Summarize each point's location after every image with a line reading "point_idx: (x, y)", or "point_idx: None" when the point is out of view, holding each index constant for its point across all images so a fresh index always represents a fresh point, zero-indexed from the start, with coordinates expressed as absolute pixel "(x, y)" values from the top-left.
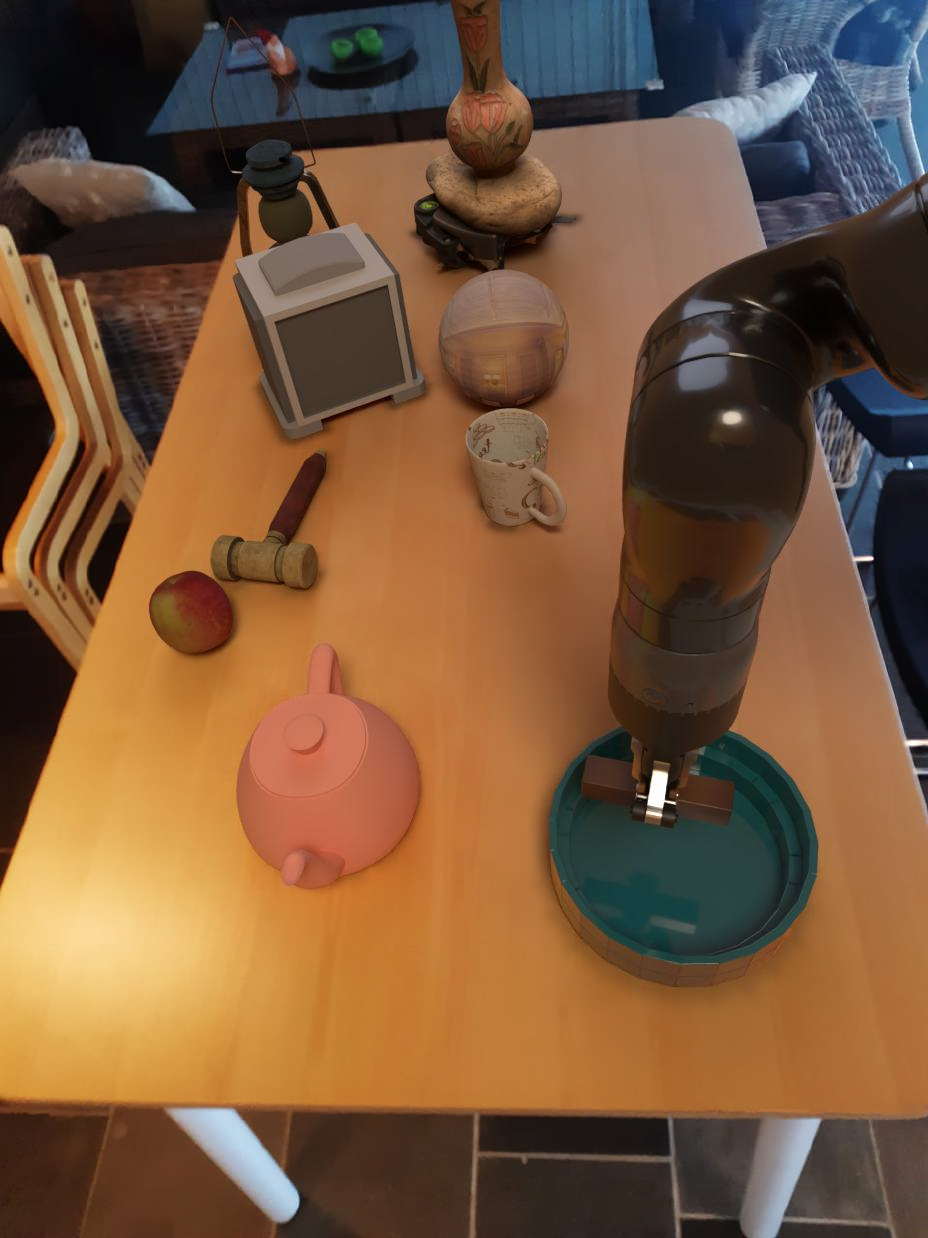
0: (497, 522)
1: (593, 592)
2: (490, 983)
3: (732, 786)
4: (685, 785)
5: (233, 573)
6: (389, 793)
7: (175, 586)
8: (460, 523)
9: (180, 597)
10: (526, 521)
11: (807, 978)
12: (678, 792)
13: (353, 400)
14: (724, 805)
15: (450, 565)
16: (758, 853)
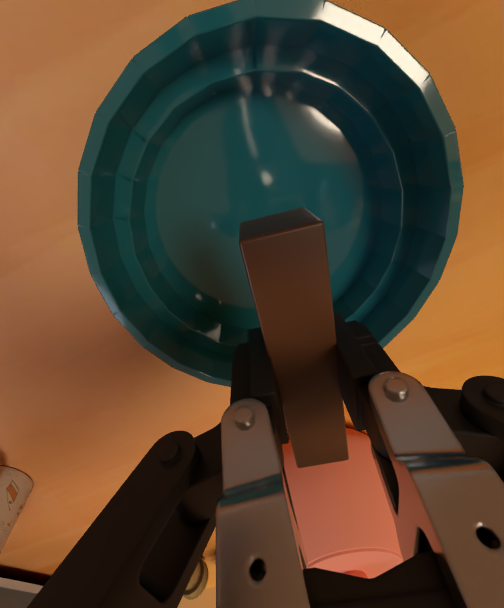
0: (31, 483)
1: (29, 402)
2: (426, 326)
3: (254, 243)
4: (490, 469)
5: (200, 569)
6: (349, 491)
7: None
8: (55, 496)
9: None
10: (10, 469)
11: (343, 6)
12: (400, 395)
13: (19, 590)
14: (315, 244)
15: (97, 486)
16: (211, 137)
